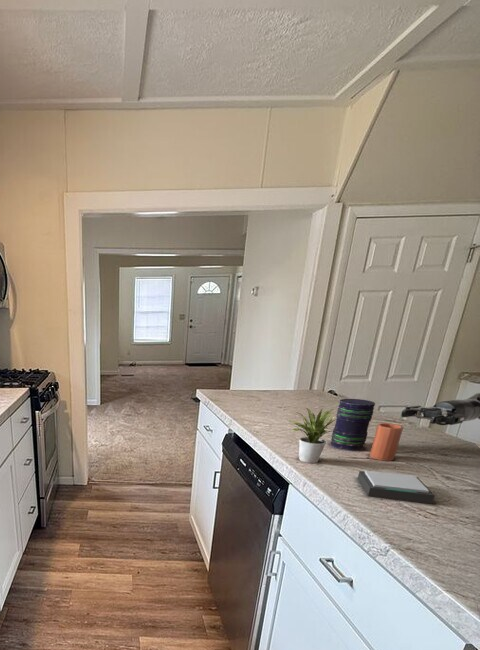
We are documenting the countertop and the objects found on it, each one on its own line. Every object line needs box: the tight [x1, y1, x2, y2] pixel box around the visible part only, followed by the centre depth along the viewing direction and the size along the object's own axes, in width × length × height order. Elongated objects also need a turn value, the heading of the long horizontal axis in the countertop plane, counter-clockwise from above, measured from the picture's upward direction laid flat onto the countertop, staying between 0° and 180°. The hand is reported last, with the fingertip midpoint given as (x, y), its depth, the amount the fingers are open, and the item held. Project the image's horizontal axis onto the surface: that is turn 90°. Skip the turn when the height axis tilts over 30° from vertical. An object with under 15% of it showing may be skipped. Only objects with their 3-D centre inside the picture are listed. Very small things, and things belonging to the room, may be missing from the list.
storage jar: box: [329, 398, 376, 452], centre depth 131 cm, size 10×10×15 cm
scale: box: [357, 470, 436, 505], centre depth 100 cm, size 13×12×3 cm
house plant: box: [288, 406, 338, 464], centre depth 120 cm, size 14×14×16 cm
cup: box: [369, 422, 404, 462], centre depth 121 cm, size 6×6×10 cm
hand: (417, 416), depth 122 cm, fingers open, 8 cm apart
